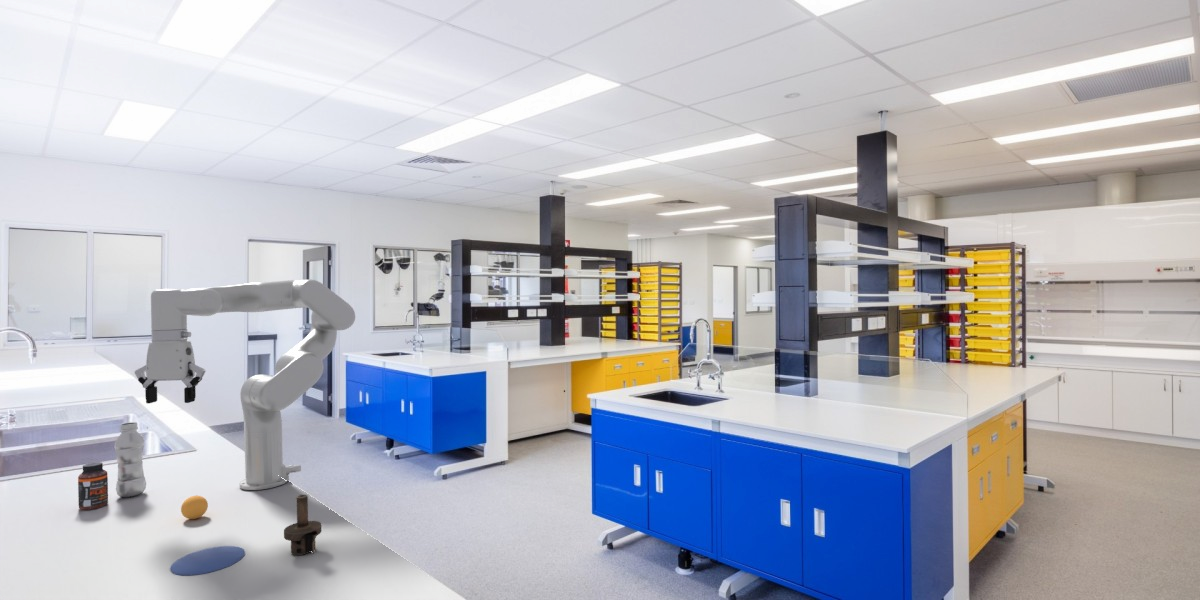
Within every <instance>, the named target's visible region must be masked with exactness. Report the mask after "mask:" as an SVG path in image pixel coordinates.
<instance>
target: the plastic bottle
mask: <svg viewBox="0 0 1200 600" xmlns="http://www.w3.org/2000/svg"><path fill="white" fill-rule="evenodd" d="M119 427H120V429H119V432H121V433H120V434H119V436H118V437H117V438H116V440H115V441H114V451H115V456H116V462H117V481H116V484H115V487H116V488H115V491H116V494H117V496H118V497H120V498H127V497H129V498H130V496H131V497H134V496H139V495H140V494H143V493H144V492H145V490H147V489H146V488H147V480H146V477H145V473H144V468H143V467H144V466H143V463H144V462H143V460H144V459H143V457H144V454H143V453H144V447H145V440H144V437H143V436H142V435H141V434H140V433H139V432H138V430H139V427H138V421H130V422H124V423H120V426H119Z"/></svg>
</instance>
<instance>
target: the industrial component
mask: <svg viewBox="0 0 1200 600" xmlns="http://www.w3.org/2000/svg"><path fill="white" fill-rule="evenodd" d="M308 497H309V496H308V494H299V495H297V496H296V497H295V498H296V499H295V500H296V522H295V523H293V524H290V525H288V526H286V527H285V528H284V529H283V538H284V539H285V540H286V541H289V542H290V553H292V554H293V555H292V554H291V555H292V556H304V555H303V554H305V553H306V554H308V553H310V552H309V551H312V552H314V550H315V551H316V539H317V536H319V535H320V534H321V533H322V522H320V521H318V520H309V502H308V500H309V498H308ZM307 552H308V553H307ZM314 553H315V552H314ZM306 554H305V555H306Z"/></svg>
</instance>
